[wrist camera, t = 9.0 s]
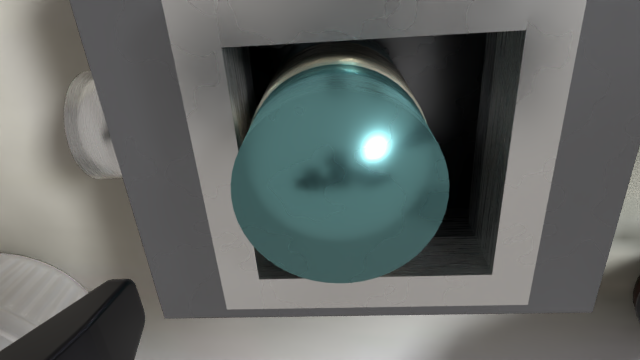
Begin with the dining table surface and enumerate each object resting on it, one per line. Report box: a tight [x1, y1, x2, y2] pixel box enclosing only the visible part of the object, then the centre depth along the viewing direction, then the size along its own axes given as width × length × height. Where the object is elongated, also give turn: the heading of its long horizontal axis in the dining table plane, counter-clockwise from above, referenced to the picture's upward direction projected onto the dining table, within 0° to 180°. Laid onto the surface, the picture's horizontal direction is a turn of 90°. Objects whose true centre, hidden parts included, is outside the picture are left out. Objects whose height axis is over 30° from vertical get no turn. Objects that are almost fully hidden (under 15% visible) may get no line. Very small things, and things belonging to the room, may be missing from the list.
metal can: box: [231, 39, 449, 283], centre depth 14 cm, size 5×5×8 cm
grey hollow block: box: [64, 0, 640, 318], centre depth 15 cm, size 18×14×7 cm
